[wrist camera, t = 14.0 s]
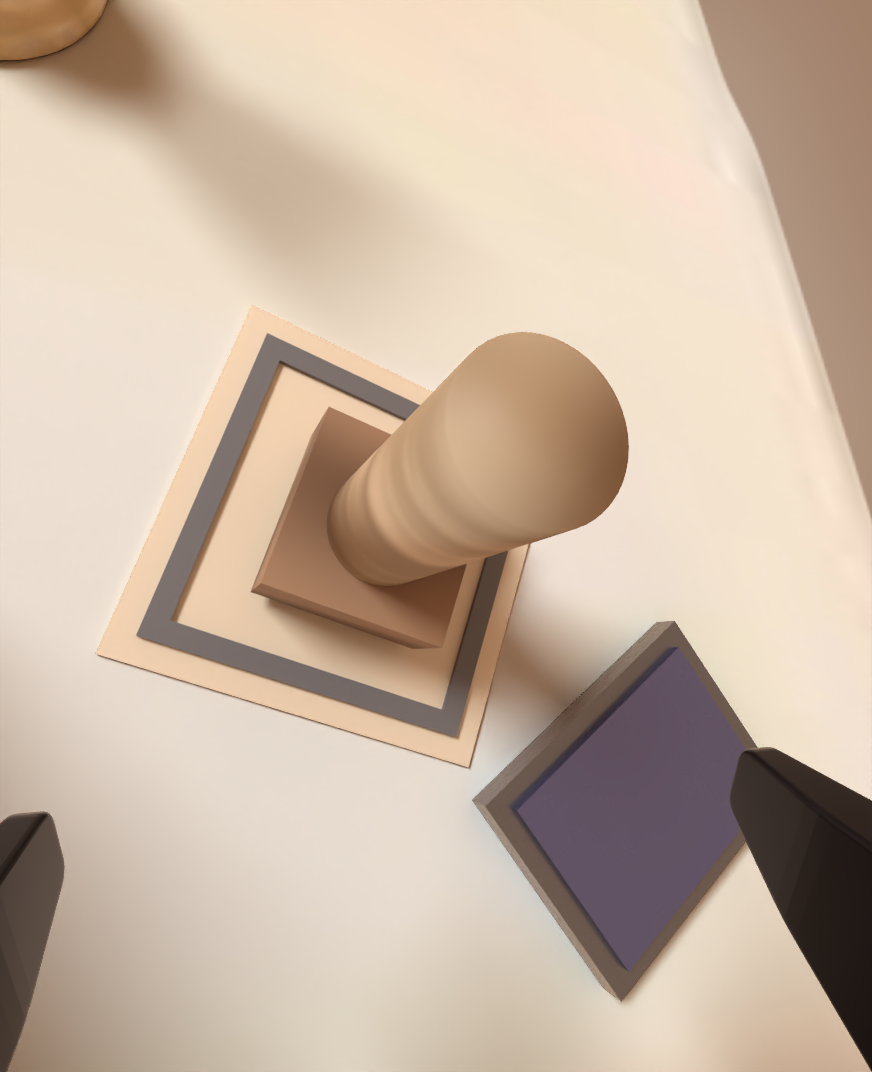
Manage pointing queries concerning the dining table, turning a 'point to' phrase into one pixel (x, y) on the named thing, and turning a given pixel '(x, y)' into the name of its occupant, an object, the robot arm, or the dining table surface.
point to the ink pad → (626, 805)
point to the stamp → (446, 489)
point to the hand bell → (44, 25)
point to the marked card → (243, 538)
